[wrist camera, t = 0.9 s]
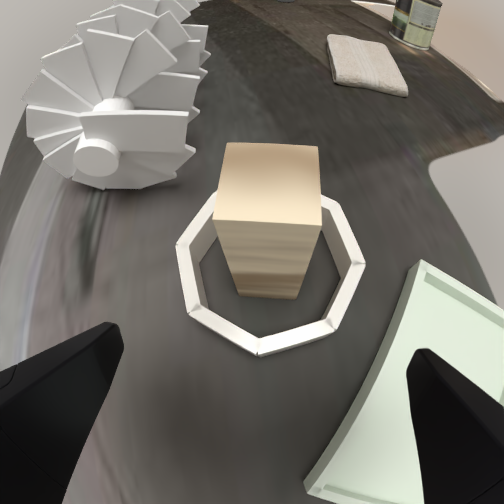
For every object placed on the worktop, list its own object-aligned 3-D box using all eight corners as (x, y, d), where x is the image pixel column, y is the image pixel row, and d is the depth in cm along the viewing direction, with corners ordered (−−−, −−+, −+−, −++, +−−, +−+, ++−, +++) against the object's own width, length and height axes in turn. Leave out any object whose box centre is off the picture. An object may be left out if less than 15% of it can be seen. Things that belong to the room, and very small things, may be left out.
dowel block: (295, 299, 22) (321, 225, 11) (239, 295, 23) (212, 219, 12) (297, 247, 24) (317, 146, 13) (244, 244, 25) (227, 142, 14)
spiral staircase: (112, 230, 31) (143, 96, 40) (241, 173, 23) (235, 42, 32) (-21, 166, 16) (67, 35, 25) (65, 20, 8) (158, -45, 17)
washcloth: (382, 52, 40) (385, 40, 38) (408, 102, 33) (414, 87, 30) (323, 42, 41) (324, 29, 39) (333, 88, 34) (336, 71, 32)
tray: (440, 514, 12) (452, 521, 10) (302, 481, 16) (307, 493, 14) (515, 334, 19) (530, 329, 17) (408, 269, 23) (420, 259, 20)
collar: (302, 380, 20) (309, 382, 17) (162, 298, 23) (146, 286, 20) (368, 243, 24) (381, 224, 21) (242, 184, 27) (239, 160, 24)
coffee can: (382, 33, 44) (391, -16, 31) (397, 29, 47) (407, -14, 34) (422, 53, 41) (436, 3, 28) (433, 47, 44) (446, 3, 31)
